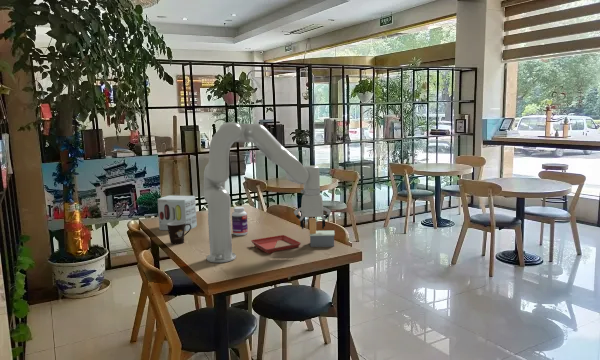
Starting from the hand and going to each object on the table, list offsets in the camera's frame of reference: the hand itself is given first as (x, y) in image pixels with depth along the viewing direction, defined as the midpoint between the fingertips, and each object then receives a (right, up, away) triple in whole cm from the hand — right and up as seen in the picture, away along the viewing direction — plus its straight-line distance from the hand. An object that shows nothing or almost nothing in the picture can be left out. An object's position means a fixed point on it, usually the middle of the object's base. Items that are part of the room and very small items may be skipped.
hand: (312, 228), depth 211 cm
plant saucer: (-17, -10, +1) cm, 20 cm away
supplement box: (-76, -5, +47) cm, 89 cm away
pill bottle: (-38, -6, +28) cm, 48 cm away
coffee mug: (-66, -9, +15) cm, 68 cm away
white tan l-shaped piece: (+4, -3, 0) cm, 5 cm away
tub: (+5, -9, +1) cm, 10 cm away
